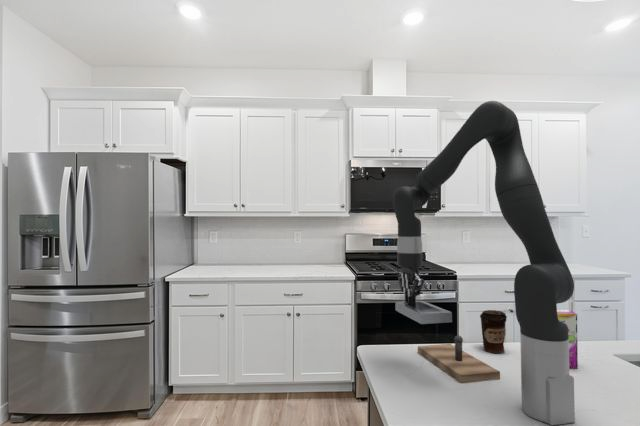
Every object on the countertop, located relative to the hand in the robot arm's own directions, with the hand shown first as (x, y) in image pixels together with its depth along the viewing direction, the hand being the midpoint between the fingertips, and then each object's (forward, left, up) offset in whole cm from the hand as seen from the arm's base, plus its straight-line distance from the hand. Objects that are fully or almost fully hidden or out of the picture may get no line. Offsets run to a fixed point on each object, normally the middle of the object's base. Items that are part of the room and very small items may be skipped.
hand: (410, 307), depth 109 cm
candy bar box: (-10, -42, -17) cm, 46 cm away
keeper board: (-3, -13, -17) cm, 21 cm away
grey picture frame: (-7, 0, -1) cm, 7 cm away
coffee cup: (+5, -33, -17) cm, 38 cm away
